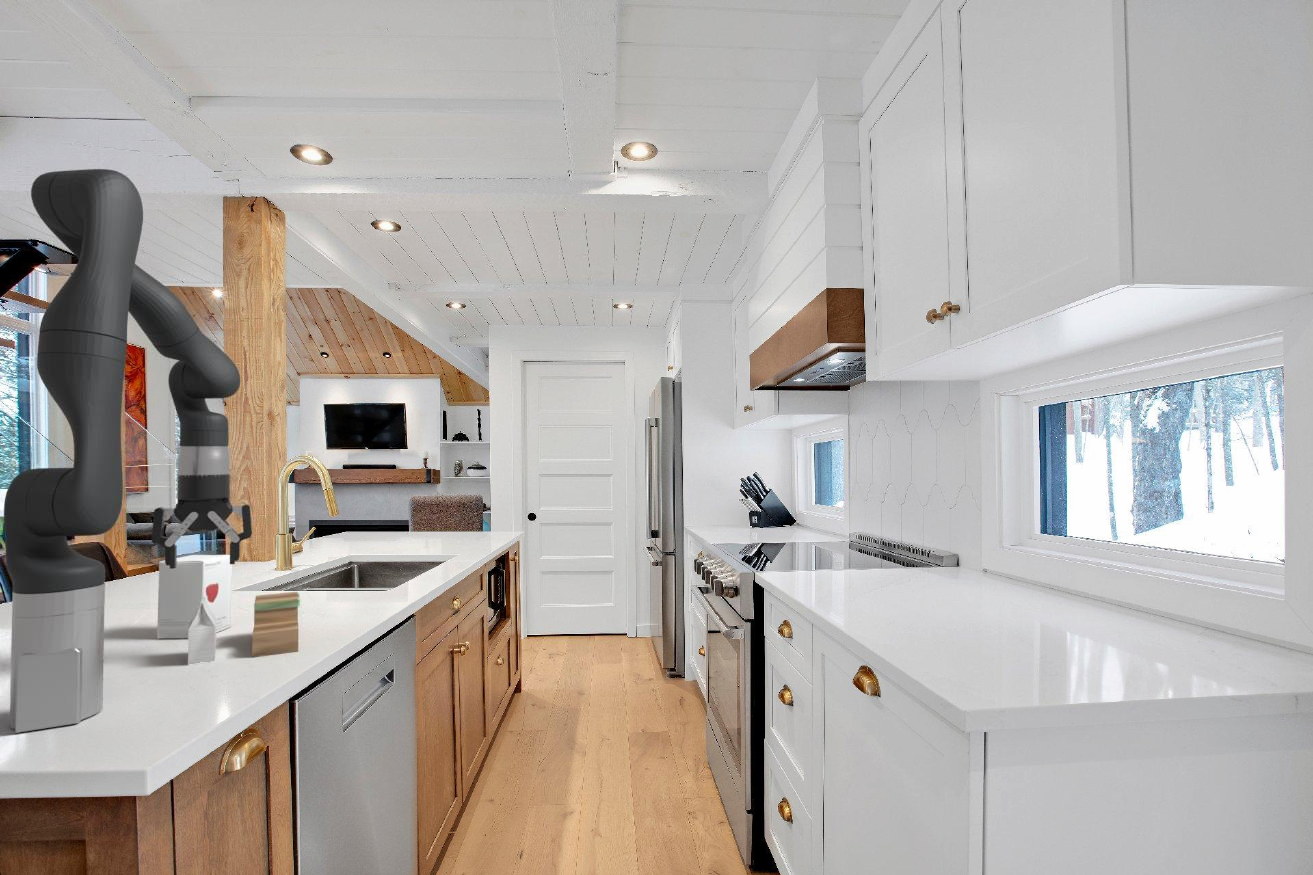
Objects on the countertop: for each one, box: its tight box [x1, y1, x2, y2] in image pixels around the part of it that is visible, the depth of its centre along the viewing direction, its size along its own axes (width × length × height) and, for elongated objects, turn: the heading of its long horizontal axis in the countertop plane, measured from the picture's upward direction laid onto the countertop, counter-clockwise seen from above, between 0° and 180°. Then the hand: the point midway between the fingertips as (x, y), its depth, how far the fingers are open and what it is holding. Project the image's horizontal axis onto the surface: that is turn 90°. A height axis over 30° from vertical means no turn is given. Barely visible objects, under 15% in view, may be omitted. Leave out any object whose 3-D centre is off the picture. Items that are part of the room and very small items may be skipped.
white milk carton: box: [187, 597, 217, 666], centre depth 114 cm, size 4×7×10 cm, turn 32°
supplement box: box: [156, 554, 233, 639], centre depth 131 cm, size 9×9×15 cm
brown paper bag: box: [251, 591, 301, 658], centre depth 123 cm, size 15×7×8 cm, turn 29°
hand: (203, 565), depth 115 cm, fingers open, 8 cm apart
